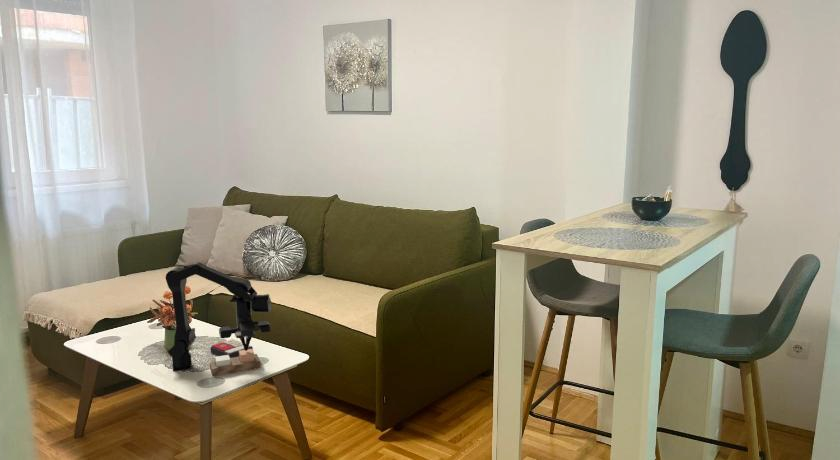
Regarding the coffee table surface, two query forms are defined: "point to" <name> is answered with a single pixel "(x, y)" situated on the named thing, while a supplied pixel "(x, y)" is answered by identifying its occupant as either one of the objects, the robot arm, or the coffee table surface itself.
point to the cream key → (222, 360)
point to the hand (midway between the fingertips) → (246, 350)
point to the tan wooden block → (246, 355)
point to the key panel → (235, 366)
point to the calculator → (228, 348)
